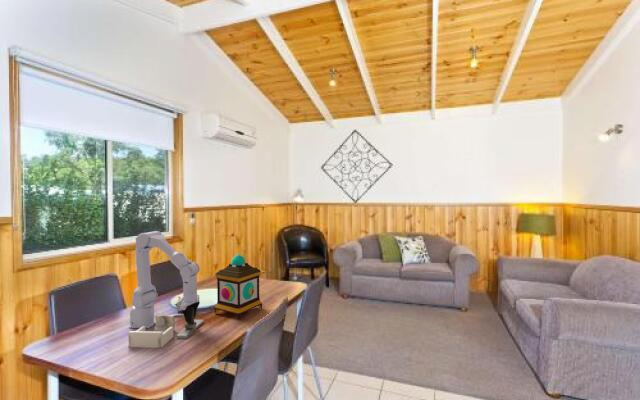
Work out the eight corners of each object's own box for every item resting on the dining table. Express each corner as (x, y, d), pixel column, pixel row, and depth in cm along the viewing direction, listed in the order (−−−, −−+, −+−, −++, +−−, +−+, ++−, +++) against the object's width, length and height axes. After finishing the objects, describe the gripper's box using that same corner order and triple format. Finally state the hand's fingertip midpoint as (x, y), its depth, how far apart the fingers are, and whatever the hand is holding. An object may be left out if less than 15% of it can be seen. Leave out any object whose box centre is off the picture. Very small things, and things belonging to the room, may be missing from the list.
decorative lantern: (239, 322, 149) (238, 260, 149) (210, 314, 159) (209, 256, 158) (266, 309, 166) (265, 253, 166) (238, 302, 176) (238, 249, 176)
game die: (185, 319, 162) (183, 308, 156) (171, 312, 163) (169, 301, 157) (196, 306, 169) (195, 295, 163) (183, 299, 170) (182, 288, 164)
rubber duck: (157, 338, 132) (156, 319, 132) (151, 334, 137) (150, 316, 137) (170, 334, 137) (170, 316, 136) (163, 330, 141) (163, 312, 141)
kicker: (155, 330, 139) (155, 311, 139) (160, 327, 143) (160, 308, 143) (192, 331, 138) (192, 311, 138) (196, 327, 142) (196, 308, 142)
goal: (128, 347, 125) (128, 332, 125) (142, 336, 134) (142, 322, 134) (161, 347, 125) (160, 332, 124) (173, 337, 134) (172, 323, 134)
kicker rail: (176, 338, 133) (176, 335, 133) (194, 322, 150) (194, 319, 150) (186, 338, 132) (186, 335, 132) (203, 322, 149) (203, 319, 149)
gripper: (191, 295, 133) (191, 327, 133) (205, 285, 147) (205, 314, 148) (175, 295, 133) (175, 326, 133) (190, 285, 148) (191, 313, 148)
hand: (190, 320), depth 141 cm, fingers open, 3 cm apart
